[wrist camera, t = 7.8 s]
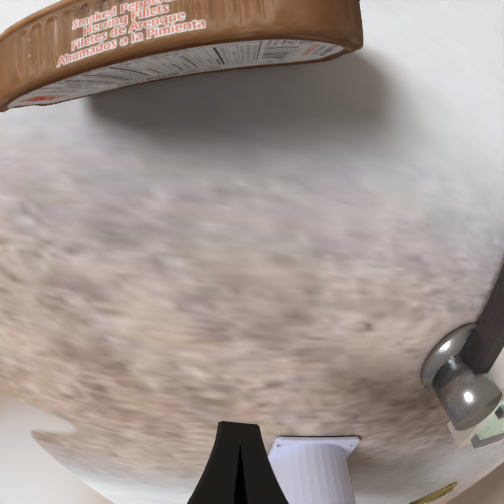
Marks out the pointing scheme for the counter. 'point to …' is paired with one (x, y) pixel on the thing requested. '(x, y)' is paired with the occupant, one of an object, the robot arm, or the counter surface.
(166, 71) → the tin
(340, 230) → the counter surface
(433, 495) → the tongs
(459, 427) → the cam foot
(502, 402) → the level stand
